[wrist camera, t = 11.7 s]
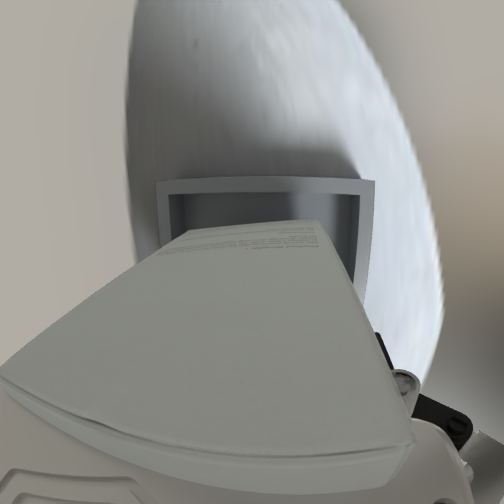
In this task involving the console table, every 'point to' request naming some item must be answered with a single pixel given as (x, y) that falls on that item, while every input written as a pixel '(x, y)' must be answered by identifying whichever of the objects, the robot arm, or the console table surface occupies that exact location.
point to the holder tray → (275, 210)
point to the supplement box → (226, 367)
